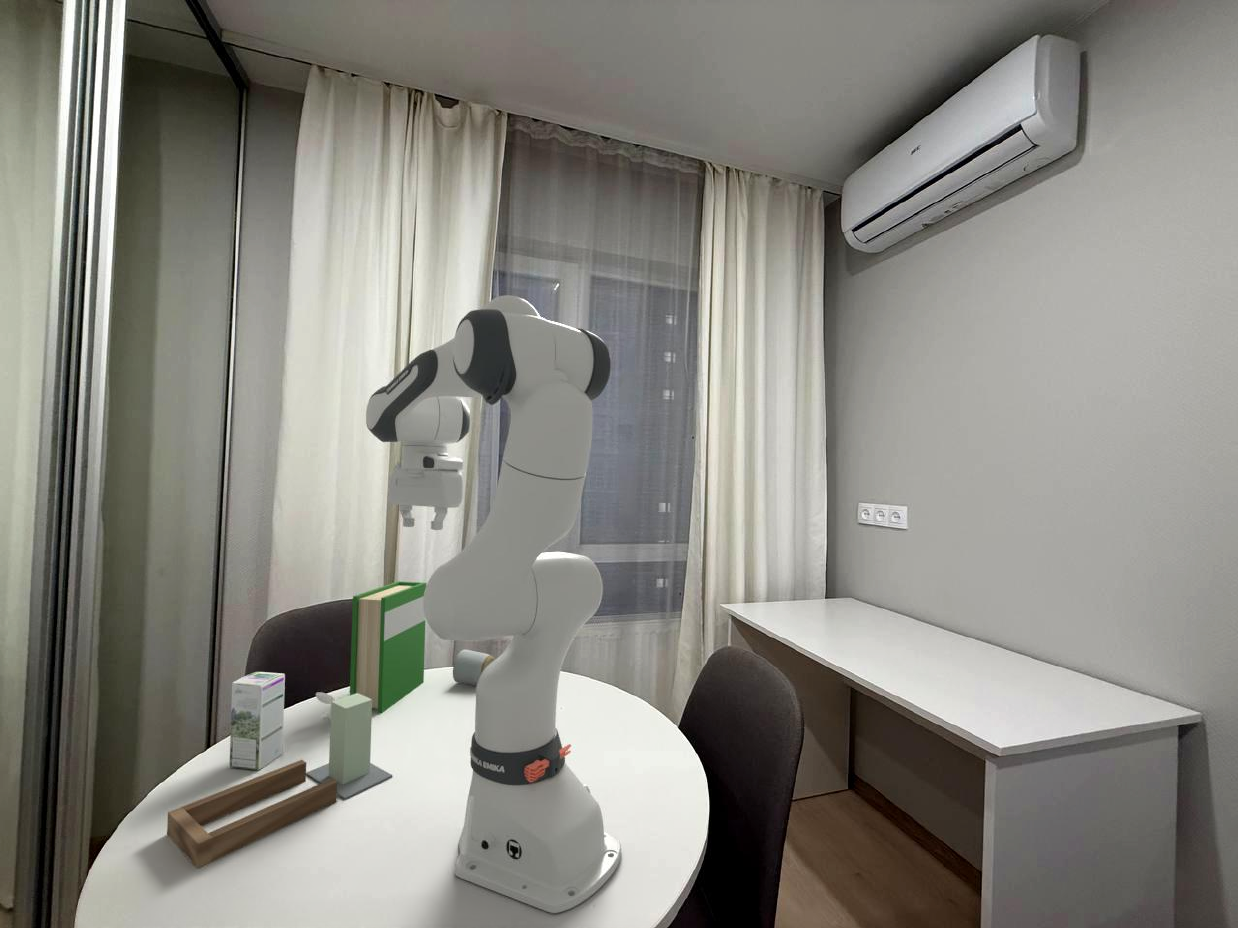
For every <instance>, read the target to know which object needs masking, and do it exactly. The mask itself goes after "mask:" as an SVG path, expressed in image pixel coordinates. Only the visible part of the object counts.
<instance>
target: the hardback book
mask: <svg viewBox="0 0 1238 928" xmlns="http://www.w3.org/2000/svg"><path fill="white" fill-rule="evenodd" d="M427 583H428V582H417V581H396V582H392V583H389V584H387V585H383V586H380V587H378V588H374V589H372V590H367V591H365V592H362V593H360V594H357V595H354V596H352V612H351V613H352V616H351V617H352V618H351V619H352V620H351V643H350V644H351V646H350V649H351V651H350V672H349V673H350V674H349V675H350V676H349V677H350V678H349V696H350V695H353V694H356V693H358V694H361V695H363V696H365V697H368V698H370V699H372V709H377V714H383V713H385V712H386V711H387V710H389V709H390V708H391V707H392V706H394V705H395V704H396V703H398V702H399V701H400V700H402V699H403V698H405V697H406V696H408V695H409V694H410V693H411V692H412V691H414V690H415V689H417V688H419V687H420V686H421V685H422V684H424V683H425V682H424V681H425V680H424V679H425V645H426V642H425V641H426V617H425V614H424V608H423V597H424V592H425V588H426V586H427Z"/></svg>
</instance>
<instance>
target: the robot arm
mask: <svg viewBox="0 0 1238 928" xmlns="http://www.w3.org/2000/svg"><path fill="white" fill-rule="evenodd" d="M611 370H612V360H611V355H610V352H609V348H608V345H607V344H606V342H605V341H604V340H603V339H602V338H601V337H599V336H598V335H596V334H595V333H592V332H590V331H589V330H586V329H584V328H574V327H572V326H568V325H565V324H562V323H559V322H555V321H551V320H547V319H546V318H544V317H541V316H540V313H538V311H537V310H536V308H535V307H534V306H533V305H532V304H531V303H529V302H528V301H527V300H525V299H524V298H521V297H518V296H515V295H509V294H508V295H500V296H497V297H495V298H493V299H491V300H490V301H489V302H487V303H486V304H484V305H483V306H482V308H480V309H473V310H470V311H468V312H467V314H466V315H464V317H462V319H460V321H459V323H458V325H457V327H456V329H455V334H454V338H452V339H450V340H449V341H447V342H445V343H443V344H441V345H439V346H437V347H435V348H433V349H429V350H426V351H425V352H422V353H420V354H418V355H417V356H416V357H415V358H414V359H413V360H411V361H410V362H409V363H408V364H407V365H406V366H405V367H404V368H403V369H402V370H401V371H400V372H399V373H397V375H396V376H395V377H394V378H393V379H392V380H391V381H390V382H389V383H388V384H387V385H383V386H382V387H381V388H378V389H377V390H376V391H374V393H373V394H371V396H369V400H368V402H367V405H366V410H365V423H366V428H367V429H368V430H369V432H370V433H371V434H372V435H373V436H374V437H375V438H377V439H378V440H379V441H380V442H382V443H398V442H402V443H401V461H398V462H397V463H396V464H395V466H394V467H393V469H392V471H391V474H390V477H389V485H388V492H387V500H388V501H389V504H390V505H397V506H398V505H399V512H400V515H401V518H402V527H406V528H413V527H414V526H415V517H414V518H413V514H412V510H413V506H414V507H416V506H417V507H428V508H433V509H434V510H433V511H434V513H435V516H434V519H433V520H431V521H430V529H431V530H433V531H442V530H443V528H444V525H443V524H444V521H445V519H446V516H447V515H448V508H449V509H450V508H451V509H452V508H453V509H454V508H455V509H456V508H459V507H460V505H461V504H462V501H463V491H464V489H463V487H464V486H463V482H464V481H463V475H462V473H461V472H460V471H462V470H463V468H464V461H463V460H462V459H461V458H459V457H456V456H454V455H452V454H451V453H450V452H449V453H448V444H455V443H459V442H460V441H461V440H462V439H464V438H465V437H466V436H467V435H468V433H469V432H470V425H471V424H470V423H471V413H470V408H469V407H468V405H467V404H466V402H465V401H464V400H463V399H462V398H477V399H478V398H483V399H484V401H485V403H487V404H489V406H490V405H491V406H493V405H496V403H498V402H499V401H500V399H501V398H503V399H504V400H505V402H506V403H507V405H508V408H509V411H510V425H509V428H508V429H509V430H508V432H507V438H506V441H505V446H504V450H503V455H502V459H501V460H502V461H501V467H500V473H499V477H498V482H497V485H496V489H495V494H494V497H493V502H492V506H491V508H490V511H489V513H488V515H487V517H486V519H485V521H484V523H483V525H482V526H481V528H480V529H479V531H478V532H477V533H476V535H475V536H474V537H473V538H472V540H470V542H469V543H468V544H467V545H466V546H465V547H464V548H463V549H462V550H461V551H460V552H459V553H458V554H456V555H455V556H454V557H452V558H451V559H450V560H448V561H447V562H445V563H443V564H441V565H440V566H438V567H437V568H436V570H435V571H433V573H432V575H430V578H429V579H428V581H427V582H426V583H427V584H426V588H425V592H424V597H423V608H424V614H425V621H427V624H428V626H429V627H430V629H431V630H432V632H433V633H434V634H435V635H437V637H438V638H440V639H441V640H444V641H456V642H459V641H460V642H481V641H488V640H494V639H500V638H501V639H502V638H506V637H512V638H511V641H510V642H509V644H508V645H507V647H506V649H505V650H504V651H503V652H502V653H501V654H500V655H499V656H498V657H497V658H495V660H494V661H493V662H492V663H490V664H489V665H488V666H487V667H486V668H485V669H484V671H483V672H482V674H481V676H480V678H479V680H478V683H477V685H475V686H476V687H475V709H474V710H475V714H474V715H475V716H474V717H475V718H474V732H473V734H472V736H471V743H470V744H471V745H470V747H469V754H470V755H469V756H470V763H469V764H470V767H471V769H472V775H471V780H470V785H469V786H470V787H469V791H468V796H467V801H466V807H465V814H464V815H465V816H464V822H463V827H462V828H463V829H462V831H461V834H460V837H459V841H458V842H459V843H458V847H459V849H458V850H459V853H458V854H459V855H458V857H457V859H456V862H455V868H454V874H455V875H456V877H458V878H460V879H462V880H464V881H465V880H466V881H467V882H471V883H472V884H476V885H477V886H480V887H483V888H485V889H488V890H491V891H493V892H496V893H498V894H500V895H503V896H507V897H509V898H510V899H513V900H516V901H519V902H521V903H525V904H527V905H529V906H531V907H535V908H536V909H540V910H541V911H545V912H548V913H550V914H557V913H561V912H565V911H567V910H570V909H573V908H574V907H576V906H578V905H580V904H582V903H583V902H585V901H586V900H587V899H589V898H590V897H591V896H593V895H594V894H595V893H596V892H598V890H599V889H600V888H602V886H603V885H604V884H605V883H606V882H607V881H608V880H609V879H610V878H611V877H612V875H613V874H614V873H615V871H616V869H617V867H618V866H619V863H620V861H621V857H622V845H621V842H620V841H619V840H618V839H616V837H614V836H613V835H611V834H610V833H608V832H607V831H606V830H605V829H604V828H605V827H604V820H603V819H604V818H603V814H602V810H601V807H600V805H599V802H598V801H597V800H596V799H595V797H594V796H592V794H591V790H590V789H589V786H588V785H587V784H585V783H582V781H580V779H579V778H578V776H577V775H576V774H575V773H574V771H572V769H571V768H570V767H569V766H568V765H567V762H566V756H568V755H569V754H570V753H571V750H569V749H570V748H571V747H572V745H571V744H570V743H569V744H567V745H566V746H564V747H563V744H562V742H561V738H560V734H559V731H558V729H557V728H556V721H557V720H556V719H557V717H556V716H557V700H558V688H559V680H560V674H561V670H562V667H563V664H564V662H565V658H566V655H567V653H568V651H569V648H570V647H571V645H572V642H573V641H574V639H575V637H576V636H577V634H578V633H579V631H580V630H581V629H582V627H584V625H585V624H586V623H587V622H588V621H589V620H590V619H591V618H593V616H594V615H595V614H596V613H597V611H598V609H599V607H600V604H601V603H602V602H601V601H602V598H603V594H604V593H603V592H604V591H603V590H604V586H603V579H602V576H601V575H602V574H601V573H600V570H599V569H598V566H596V564H595V562H594V561H593V560H591V558H590V557H588V556H586V555H582V554H577V553H573V552H572V553H571V552H566V551H565V552H564V551H548V552H546V550H547V549H548V548H549V547H550V546H552V545H554V544H555V543H558V541H560V540H562V539H563V538H564V537H566V536H567V535H568V533H570V531H571V530H572V528H573V527H574V525H575V523H576V520H577V517H578V512H579V508H580V504H581V503H580V502H581V498H582V494H583V490H584V486H585V482H586V481H585V480H586V475H587V471H588V466H589V461H590V455H591V449H592V441H593V440H592V439H593V426H594V424H593V423H594V409H593V407H594V406H593V403H592V401H593V400H596V399H597V398H599V396H600V395H601V394H602V393H603V392H604V389H605V388H606V387H607V384H608V382H609V379H610V376H611Z"/></svg>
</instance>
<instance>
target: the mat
mask: <svg viewBox="0 0 1238 928" xmlns="http://www.w3.org/2000/svg"><path fill="white" fill-rule="evenodd" d="M306 776H307V777H309V778H311V779H312V780H313V781H316V782H317V783H318V784H321V783H323V782H325V781H328V780H330V779H333V778H332V777H330V776H329V762H328V763H326V764H324V765H321V766H318V767H316V768H314V769H311V770H310V771H306ZM391 778H393V774H391V773H389V772H388V771H386V770H384V769H382V768H380V767H379V766H377V765H375V764H373V763H371V762H370V773H368V774H365V775H363V776H361V777H359V778H357V779H354V780H352V781H350V782H348V783H346V784H344V785H343V784H341V783H340V782H338V781H337V780H335V779H333V780H335V781H337V797H339V796H340V798H341V799H343V800H347V799H349V798H351V797H354V796H355V795H358V794H360V793H362V792H364V791H367V790H368V789H370V788H372V787H375V786H376V785H378V784H381V783H383V782H384V781H387V780H389V779H391Z"/></svg>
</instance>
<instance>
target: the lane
mask: <svg viewBox="0 0 1238 928" xmlns="http://www.w3.org/2000/svg"><path fill="white" fill-rule="evenodd" d="M306 772H307V762H306V761H305V760H303V759H299V760H298V761H295V762H294V761H293V762H292V763H290V764H287V765H284V766H282V767H279V768H276V769H274V770H272V771H269V772H266V773H264V774H261V775H259V776H256V777H254V778H251V779H248V780H247V781H244V782H240V783H239V784H236V785H233V786H231V787H229V788H226V789H224V790H221V791H218V792H215V793H213V794H211V795H208V796H205V797H203V798H201V799H198V800H195V801H192V802H190V803H188V804H185V805H182V806H180V807H178V808H175V809H172V810H169V811H168V812H167V826H166V834H167V836H168V837H169V839H170V840H171V841H172V842H173V843H174V844H175V845H176V847H178V849H180V851H181V852H182V853H183V854H184V855H185V856H186V857H187V859H188V860H189V861H190V862H191V863H192V864H193V865H194V866H195V868H196V869H199V868H201V867H203V866H205V865H207V864H210V863H212V862H214V861H217V860H218V859H220V858H222V857H225V856H226V855H228V854H230V853H233V852H235V851H238V850H239V849H241V848H243V847H246V846H247V845H249V844H251V843H253V842H255V841H257V840H260V839H262V838H264V837H266V836H268V835H270V834H272V833H274V832H277V831H279V830H281V829H283V828H285V827H288V826H289V825H291V824H293V823H295V822H297V821H300V820H301V819H304V818H305V817H308V816H310V815H312V814H314V813H317V812H318V811H320V810H323V809H324V808H326V807H329V806H331V805H334V804H335V803H337V801H338V800H337V798H338V795H337V781H335V780H333V779H330V780H328V781H325V782H323V783H321V784H320V783H318V784H317V785H314V786H312V787H309V788H307V789H305V790H303V791H301V792H298V793H297V794H294V795H292V796H289V797H287V798H284V799H282V800H280V801H278V802H276V803H274V804H271V805H269V806H266V807H265V808H262V809H260V810H257V811H254V812H253V813H251V814H249V815H246V816H244V817H241V818H239V819H236V820H235V821H232V822H230V823H228V824H225V825H224V826H223V825H222V826H221V827H219V828H217V829H214V830H212V831H210V832H208V831H207V830H205V828H204V827H203V826H204V825H206V824H209V823H211V822H214V821H215V820H218V819H220V818H223V817H226V816H228V815H229V814H232V813H235V812H237V811H239V810H241V808H242V809H244V808H246V807H249V806H251V805H253V804H255V803H258V802H260V801H263V800H265V799H268V798H269V796H270V797H272V796H274V795H277V794H279V793H282V792H283V791H286V790H289V789H291V788H293V787H295V786H298V785H300V784H302V783H305V782H306V781H307V780H306V779H307V778H306V776H307V775H306ZM262 799H263V800H262ZM250 804H251V805H250ZM248 805H249V806H248ZM245 806H246V807H245ZM243 807H244V808H243ZM238 809H239V810H238ZM236 810H237V811H236ZM227 814H228V815H227Z"/></svg>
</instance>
